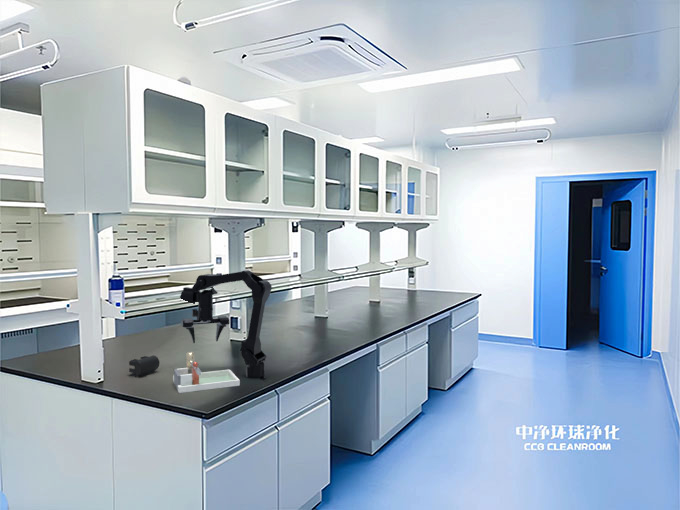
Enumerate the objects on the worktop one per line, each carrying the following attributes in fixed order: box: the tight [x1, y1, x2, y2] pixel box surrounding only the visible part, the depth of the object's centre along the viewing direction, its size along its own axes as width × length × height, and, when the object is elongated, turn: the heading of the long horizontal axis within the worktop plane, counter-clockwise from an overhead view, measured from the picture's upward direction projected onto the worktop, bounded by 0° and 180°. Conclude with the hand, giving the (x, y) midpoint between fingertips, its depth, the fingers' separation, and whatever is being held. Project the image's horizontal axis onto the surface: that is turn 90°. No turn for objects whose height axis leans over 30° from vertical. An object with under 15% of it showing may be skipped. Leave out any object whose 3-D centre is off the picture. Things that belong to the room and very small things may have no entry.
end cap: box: [128, 355, 160, 378], centre depth 200 cm, size 10×7×7 cm
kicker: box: [185, 351, 202, 385], centre depth 186 cm, size 3×22×9 cm, turn 26°
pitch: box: [172, 367, 241, 394], centre depth 186 cm, size 22×16×6 cm
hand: (205, 342), depth 202 cm, fingers open, 9 cm apart
